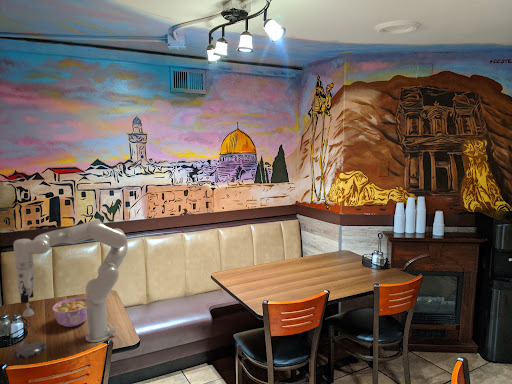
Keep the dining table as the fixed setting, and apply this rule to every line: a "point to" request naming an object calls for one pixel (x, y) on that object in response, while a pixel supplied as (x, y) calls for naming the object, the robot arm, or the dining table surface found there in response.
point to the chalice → (28, 311)
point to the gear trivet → (31, 349)
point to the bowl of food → (71, 311)
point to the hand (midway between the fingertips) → (27, 299)
